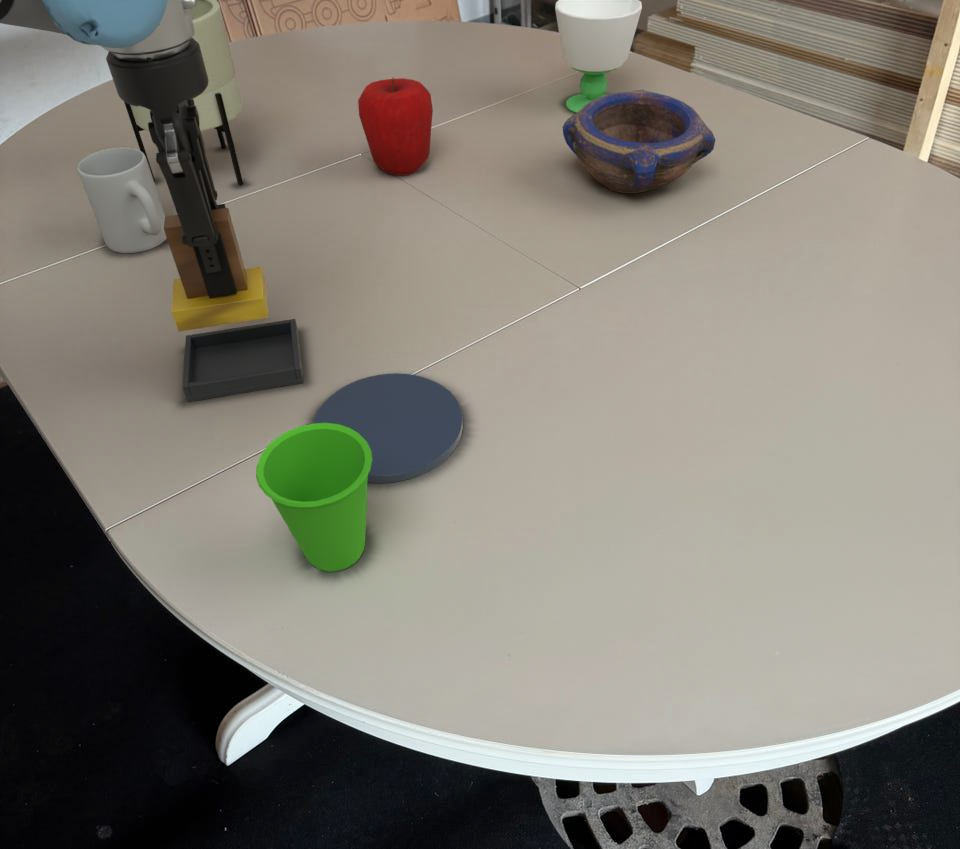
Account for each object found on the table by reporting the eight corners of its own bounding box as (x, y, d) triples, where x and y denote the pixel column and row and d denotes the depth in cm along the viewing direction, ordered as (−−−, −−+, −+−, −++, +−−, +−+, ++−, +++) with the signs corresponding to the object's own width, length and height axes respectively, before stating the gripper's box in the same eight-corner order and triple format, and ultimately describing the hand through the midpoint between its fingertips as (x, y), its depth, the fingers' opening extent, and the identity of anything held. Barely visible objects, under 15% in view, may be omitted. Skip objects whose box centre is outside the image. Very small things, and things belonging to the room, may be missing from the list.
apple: (440, 152, 128) (434, 63, 119) (431, 183, 121) (423, 90, 111) (374, 152, 129) (362, 63, 120) (360, 182, 122) (347, 90, 112)
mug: (94, 239, 112) (63, 163, 105) (149, 215, 116) (124, 140, 109) (139, 270, 106) (111, 192, 98) (196, 243, 110) (173, 167, 103)
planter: (201, 206, 118) (152, 38, 102) (134, 178, 125) (79, 16, 109) (280, 166, 127) (245, 5, 111) (213, 141, 134) (172, -13, 118)
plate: (320, 496, 76) (318, 488, 76) (308, 393, 87) (307, 386, 86) (477, 467, 78) (476, 459, 78) (447, 370, 89) (446, 363, 88)
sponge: (178, 332, 83) (145, 240, 75) (180, 298, 87) (149, 209, 80) (268, 317, 84) (244, 226, 77) (266, 285, 88) (243, 196, 81)
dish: (187, 402, 87) (182, 387, 85) (190, 350, 93) (185, 335, 92) (303, 382, 88) (300, 367, 87) (298, 333, 95) (295, 318, 93)
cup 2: (537, 99, 142) (538, 0, 131) (604, 83, 146) (610, -14, 136) (579, 127, 133) (584, 24, 122) (649, 109, 137) (660, 8, 126)
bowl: (625, 225, 110) (633, 154, 103) (547, 174, 122) (548, 107, 115) (723, 187, 117) (736, 118, 110) (640, 143, 128) (646, 78, 121)
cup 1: (408, 548, 71) (395, 460, 64) (324, 611, 67) (299, 524, 59) (345, 494, 76) (326, 406, 69) (263, 550, 72) (233, 462, 64)
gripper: (195, 72, 62) (262, 323, 79) (200, 10, 73) (258, 241, 90) (92, 84, 61) (182, 335, 78) (113, 20, 72) (187, 251, 89)
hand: (222, 285), depth 84 cm, fingers closed on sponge, 2 cm apart
